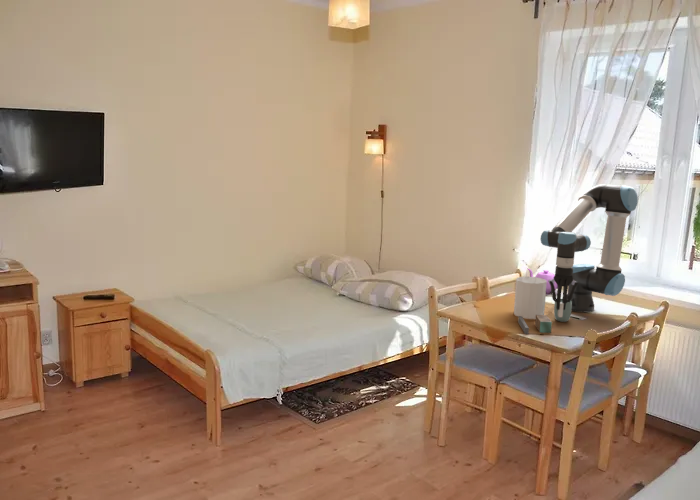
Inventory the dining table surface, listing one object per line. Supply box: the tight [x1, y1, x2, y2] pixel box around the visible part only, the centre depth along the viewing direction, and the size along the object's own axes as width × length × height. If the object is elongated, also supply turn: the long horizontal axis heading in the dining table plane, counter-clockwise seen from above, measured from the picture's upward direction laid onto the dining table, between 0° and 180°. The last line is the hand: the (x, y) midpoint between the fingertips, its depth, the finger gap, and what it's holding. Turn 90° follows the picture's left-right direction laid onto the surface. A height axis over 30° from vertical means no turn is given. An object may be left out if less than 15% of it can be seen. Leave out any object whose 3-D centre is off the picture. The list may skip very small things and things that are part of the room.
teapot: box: [527, 268, 558, 295], centre depth 350 cm, size 20×14×12 cm
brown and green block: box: [534, 314, 553, 334], centre depth 283 cm, size 5×5×11 cm
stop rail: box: [517, 316, 530, 335], centre depth 284 cm, size 2×18×3 cm, turn 175°
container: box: [513, 276, 547, 320], centre depth 304 cm, size 14×14×18 cm
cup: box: [553, 298, 572, 323], centre depth 296 cm, size 8×8×10 cm
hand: (560, 316), depth 282 cm, fingers closed
